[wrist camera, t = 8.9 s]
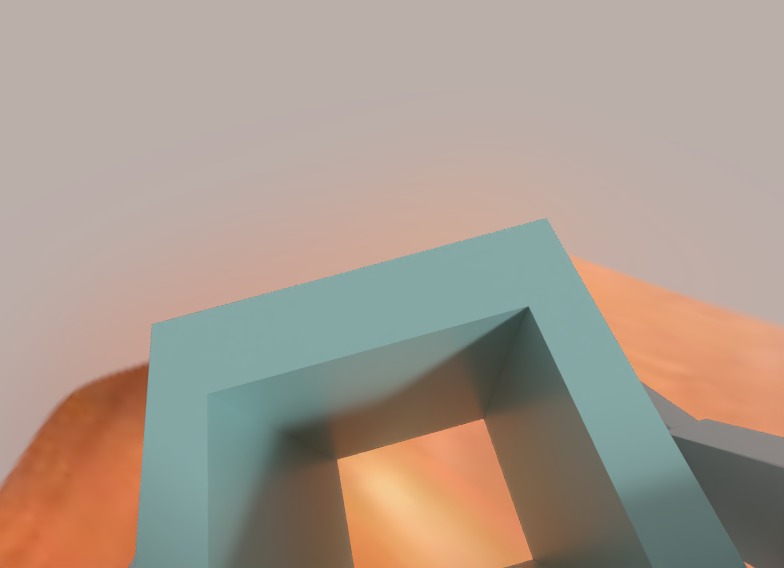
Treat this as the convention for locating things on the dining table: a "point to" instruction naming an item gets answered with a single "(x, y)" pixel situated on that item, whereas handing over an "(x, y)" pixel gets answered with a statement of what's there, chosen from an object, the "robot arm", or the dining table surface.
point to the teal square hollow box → (412, 413)
